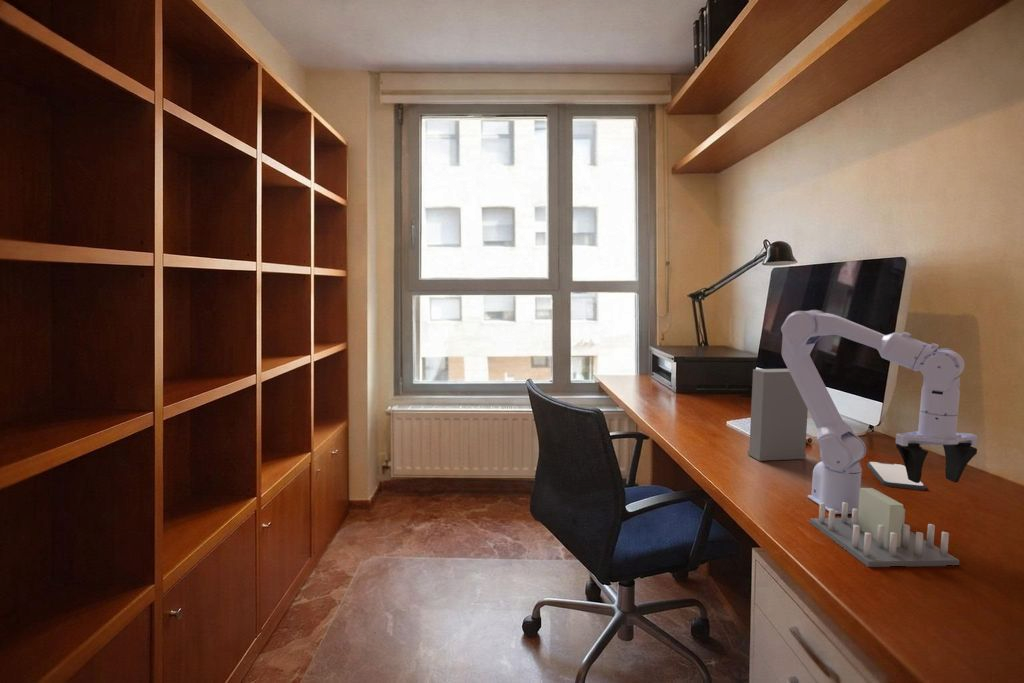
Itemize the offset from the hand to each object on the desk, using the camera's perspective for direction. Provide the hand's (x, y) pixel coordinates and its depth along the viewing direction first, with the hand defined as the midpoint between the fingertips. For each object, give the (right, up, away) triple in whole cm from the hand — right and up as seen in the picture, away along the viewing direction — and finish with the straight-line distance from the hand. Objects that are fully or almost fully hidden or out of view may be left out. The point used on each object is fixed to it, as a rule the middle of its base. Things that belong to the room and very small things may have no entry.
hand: (932, 480), depth 102 cm
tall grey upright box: (-7, -6, +47) cm, 48 cm away
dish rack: (-13, -11, -3) cm, 17 cm away
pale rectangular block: (-13, -10, -3) cm, 16 cm away
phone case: (+15, -8, +31) cm, 35 cm away
